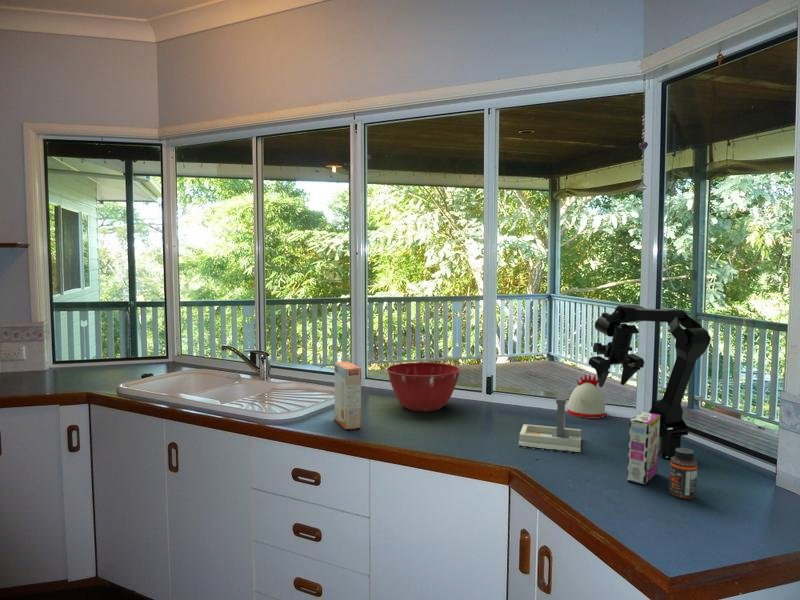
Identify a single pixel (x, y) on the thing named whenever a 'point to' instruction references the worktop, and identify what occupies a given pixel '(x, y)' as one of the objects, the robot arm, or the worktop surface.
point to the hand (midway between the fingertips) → (611, 385)
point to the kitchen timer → (586, 399)
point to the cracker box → (347, 395)
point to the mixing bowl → (423, 384)
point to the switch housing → (549, 438)
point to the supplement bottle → (683, 474)
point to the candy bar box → (643, 447)
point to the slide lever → (561, 417)
